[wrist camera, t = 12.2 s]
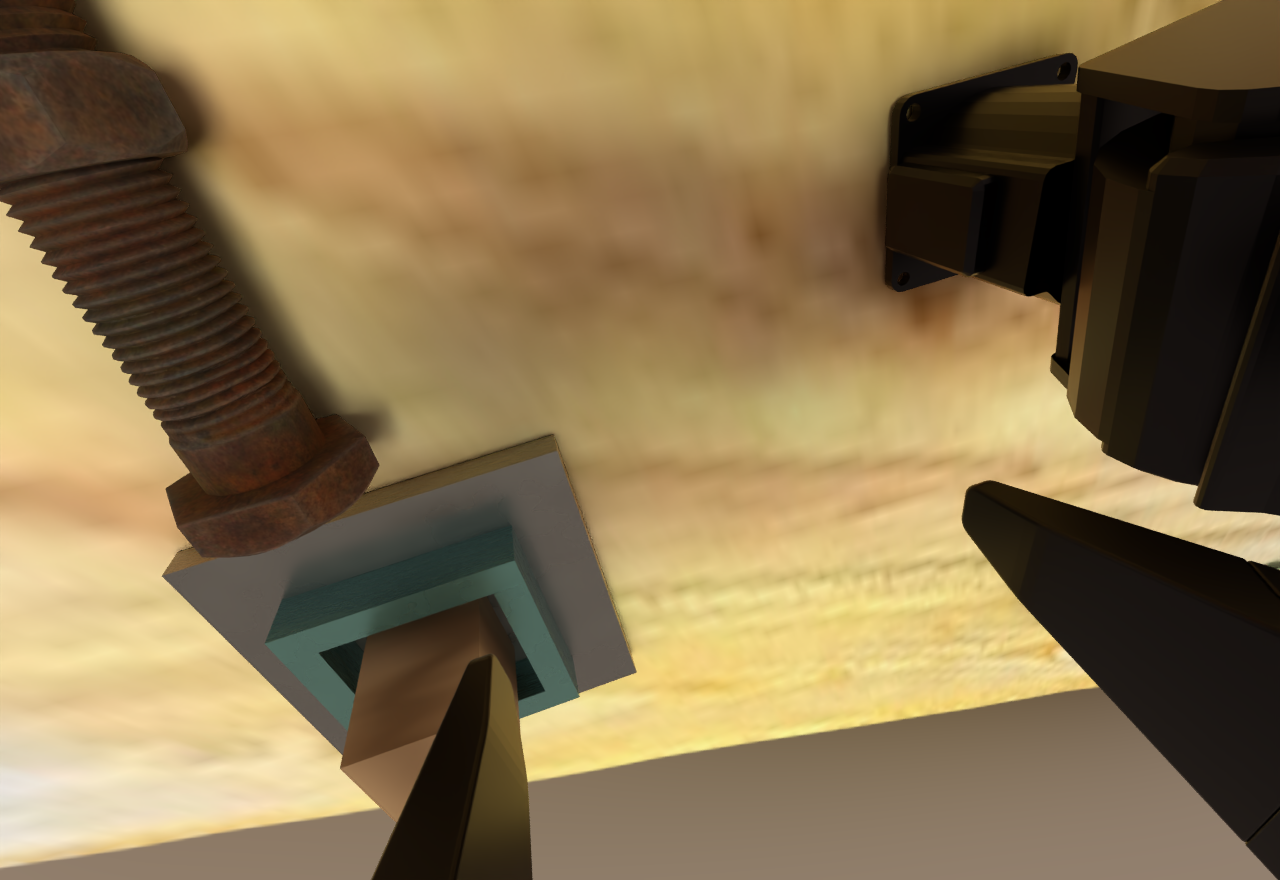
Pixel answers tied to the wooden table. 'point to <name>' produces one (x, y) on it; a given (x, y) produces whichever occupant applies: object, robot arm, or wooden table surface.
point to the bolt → (161, 288)
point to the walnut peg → (414, 695)
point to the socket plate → (423, 584)
